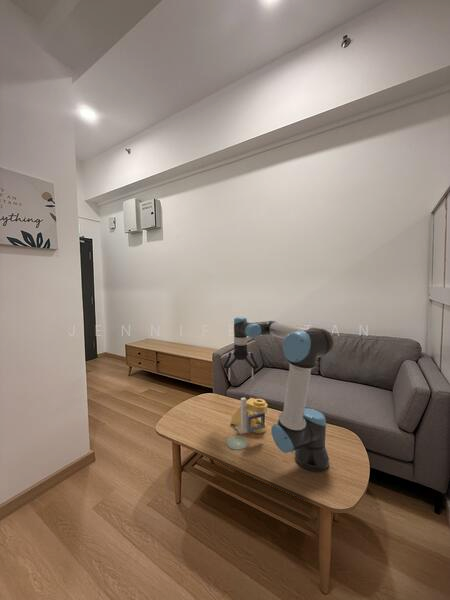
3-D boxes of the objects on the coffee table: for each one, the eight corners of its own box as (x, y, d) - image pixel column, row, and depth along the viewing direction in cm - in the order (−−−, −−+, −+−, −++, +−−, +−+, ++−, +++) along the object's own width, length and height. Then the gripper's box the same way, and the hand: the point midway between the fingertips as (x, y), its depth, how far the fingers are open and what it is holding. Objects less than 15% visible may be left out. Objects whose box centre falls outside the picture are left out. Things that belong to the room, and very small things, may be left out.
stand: (264, 444, 127) (264, 410, 126) (253, 447, 124) (253, 413, 123) (245, 424, 145) (245, 395, 144) (235, 427, 142) (235, 397, 141)
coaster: (251, 446, 126) (251, 445, 126) (232, 452, 121) (232, 451, 121) (241, 434, 136) (241, 433, 136) (223, 439, 131) (223, 438, 131)
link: (264, 427, 130) (264, 413, 129) (248, 432, 125) (248, 417, 125) (263, 426, 131) (263, 411, 130) (246, 431, 127) (246, 416, 126)
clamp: (268, 428, 142) (270, 400, 142) (261, 435, 135) (263, 406, 135) (239, 417, 154) (240, 391, 153) (231, 423, 146) (232, 396, 146)
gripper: (261, 342, 146) (261, 377, 147) (219, 342, 148) (220, 377, 149) (262, 345, 139) (262, 382, 140) (218, 345, 140) (219, 381, 141)
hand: (240, 379), depth 144 cm, fingers open, 13 cm apart
